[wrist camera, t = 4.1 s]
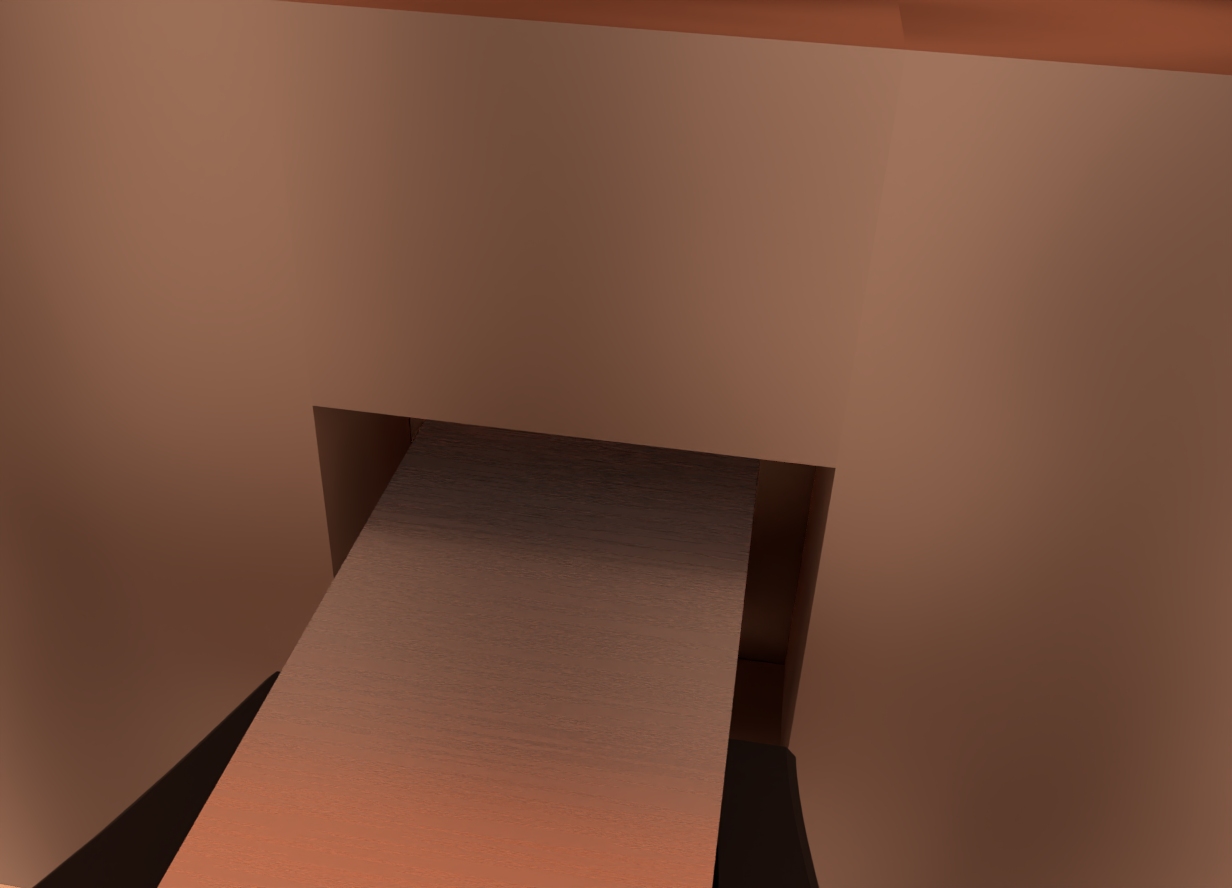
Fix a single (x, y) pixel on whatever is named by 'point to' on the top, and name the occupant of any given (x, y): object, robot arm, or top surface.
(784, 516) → the top surface
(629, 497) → the steel peg
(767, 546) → the top surface
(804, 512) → the top surface
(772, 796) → the robot arm
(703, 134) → the walnut board
